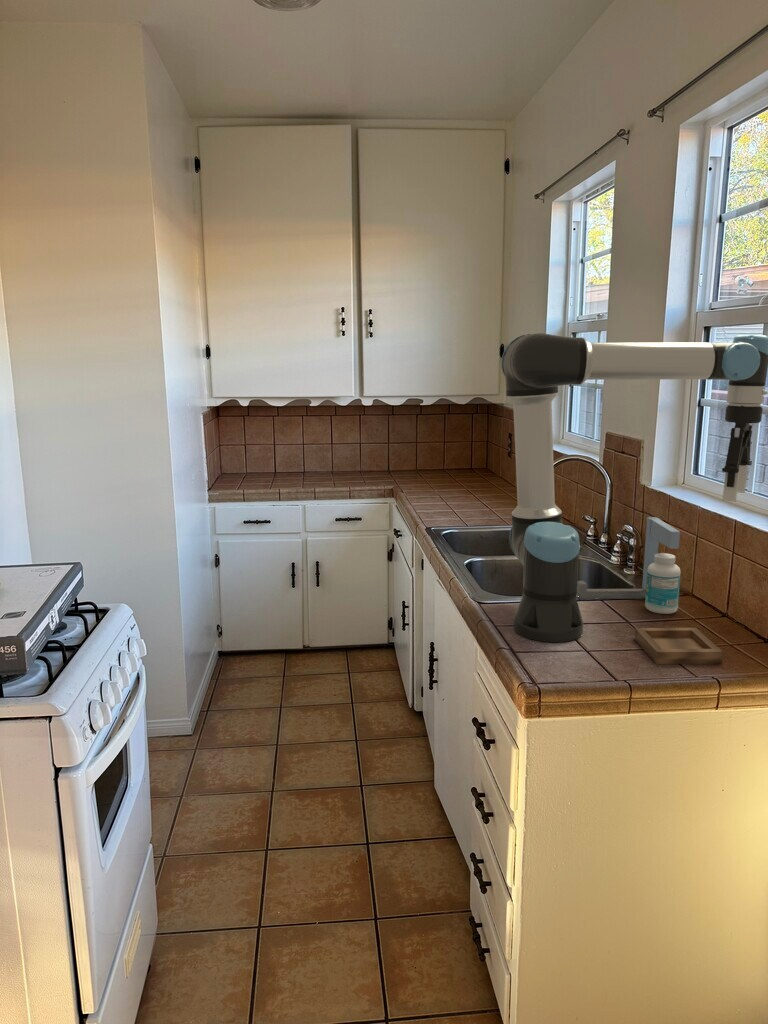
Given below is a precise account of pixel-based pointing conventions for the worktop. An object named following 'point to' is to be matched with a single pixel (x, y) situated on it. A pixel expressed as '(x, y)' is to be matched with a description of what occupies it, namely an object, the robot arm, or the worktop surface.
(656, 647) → the open box
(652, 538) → the bar
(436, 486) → the worktop surface
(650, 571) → the pill bottle
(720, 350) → the robot arm
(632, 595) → the gate rail
